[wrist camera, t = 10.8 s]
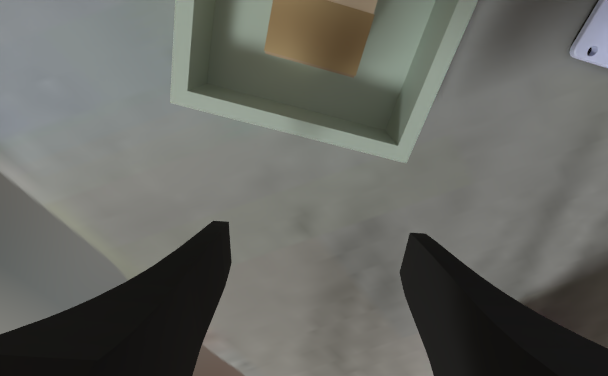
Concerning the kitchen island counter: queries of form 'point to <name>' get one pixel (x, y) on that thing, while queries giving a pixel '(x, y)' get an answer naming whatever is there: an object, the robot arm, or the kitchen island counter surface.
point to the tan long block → (321, 32)
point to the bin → (318, 73)
